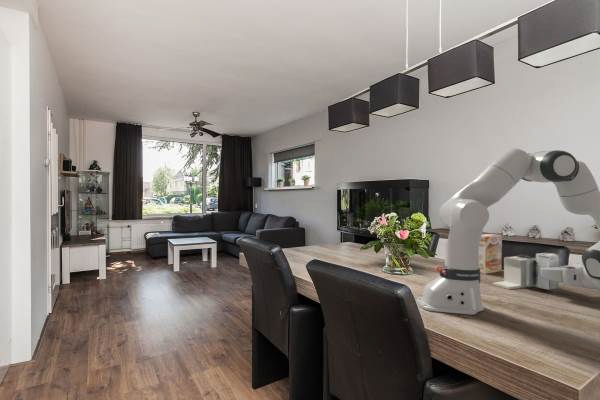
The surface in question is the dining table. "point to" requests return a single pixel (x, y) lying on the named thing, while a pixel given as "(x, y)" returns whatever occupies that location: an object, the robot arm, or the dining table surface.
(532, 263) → the gray boxy block
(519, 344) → the dining table surface
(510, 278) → the test stand
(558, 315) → the dining table surface
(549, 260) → the syrup box
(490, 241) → the coffeecake box
